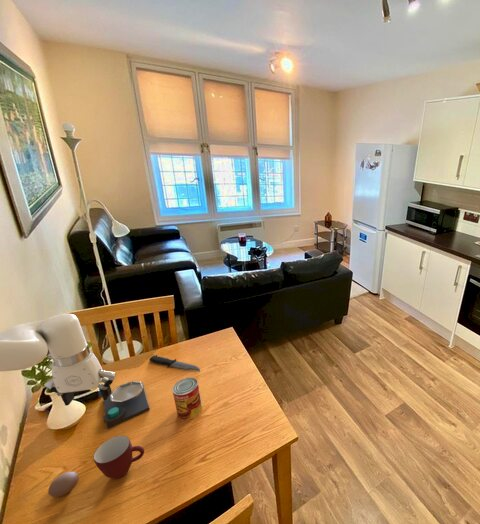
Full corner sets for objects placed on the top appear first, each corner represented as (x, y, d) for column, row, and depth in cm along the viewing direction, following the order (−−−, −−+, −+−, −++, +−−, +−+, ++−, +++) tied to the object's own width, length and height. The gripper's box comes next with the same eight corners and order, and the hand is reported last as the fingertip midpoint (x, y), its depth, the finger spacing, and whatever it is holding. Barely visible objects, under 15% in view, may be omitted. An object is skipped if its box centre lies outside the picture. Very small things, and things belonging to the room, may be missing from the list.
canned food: (172, 414, 103) (166, 389, 98) (192, 398, 109) (187, 374, 105) (188, 423, 100) (182, 398, 95) (207, 406, 106) (202, 382, 102)
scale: (106, 430, 96) (104, 424, 94) (102, 400, 106) (100, 394, 105) (150, 410, 103) (148, 404, 102) (143, 384, 114) (141, 379, 113)
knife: (205, 364, 124) (197, 372, 119) (206, 367, 124) (197, 375, 120) (155, 353, 128) (146, 360, 124) (156, 356, 129) (147, 363, 124)
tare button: (109, 419, 97) (108, 415, 96) (108, 413, 98) (107, 410, 98) (119, 415, 98) (118, 411, 98) (119, 409, 100) (117, 405, 100)
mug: (146, 448, 91) (139, 426, 87) (148, 470, 85) (141, 447, 81) (103, 467, 85) (94, 444, 81) (102, 492, 79) (92, 469, 75)
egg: (46, 504, 76) (41, 495, 74) (57, 481, 81) (52, 472, 79) (75, 495, 78) (70, 486, 77) (84, 473, 83) (80, 464, 82)
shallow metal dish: (112, 408, 100) (111, 406, 99) (109, 391, 106) (109, 389, 106) (144, 395, 106) (144, 392, 105) (140, 379, 112) (140, 377, 112)
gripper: (24, 368, 76) (46, 414, 83) (100, 360, 81) (116, 404, 87) (43, 350, 83) (62, 393, 90) (113, 343, 87) (127, 385, 94)
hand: (89, 399), depth 88 cm, fingers open, 9 cm apart
